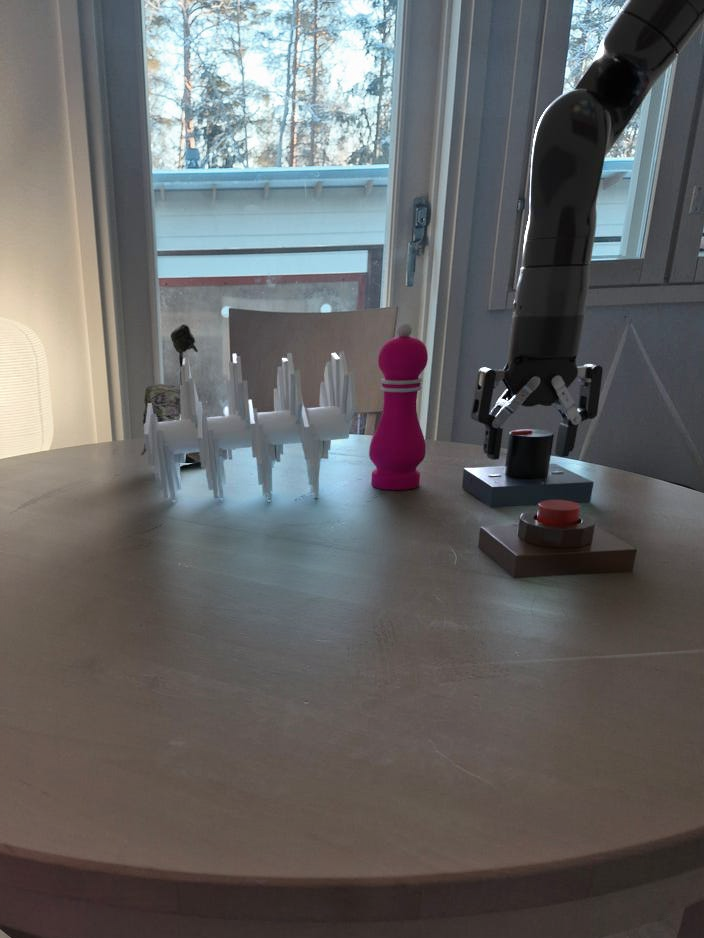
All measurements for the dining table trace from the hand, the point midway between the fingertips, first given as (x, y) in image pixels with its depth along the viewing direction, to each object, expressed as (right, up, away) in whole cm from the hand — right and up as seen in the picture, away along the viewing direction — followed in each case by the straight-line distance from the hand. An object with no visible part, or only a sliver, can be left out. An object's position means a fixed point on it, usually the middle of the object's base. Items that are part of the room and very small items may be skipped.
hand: (527, 457), depth 90 cm
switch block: (-5, -14, -19) cm, 24 cm away
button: (-6, -11, -20) cm, 24 cm away
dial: (0, -2, +1) cm, 2 cm away
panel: (0, -4, +2) cm, 5 cm away
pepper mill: (-14, -2, +9) cm, 17 cm away
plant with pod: (-44, +5, +25) cm, 51 cm away
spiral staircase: (-34, -4, +6) cm, 35 cm away
